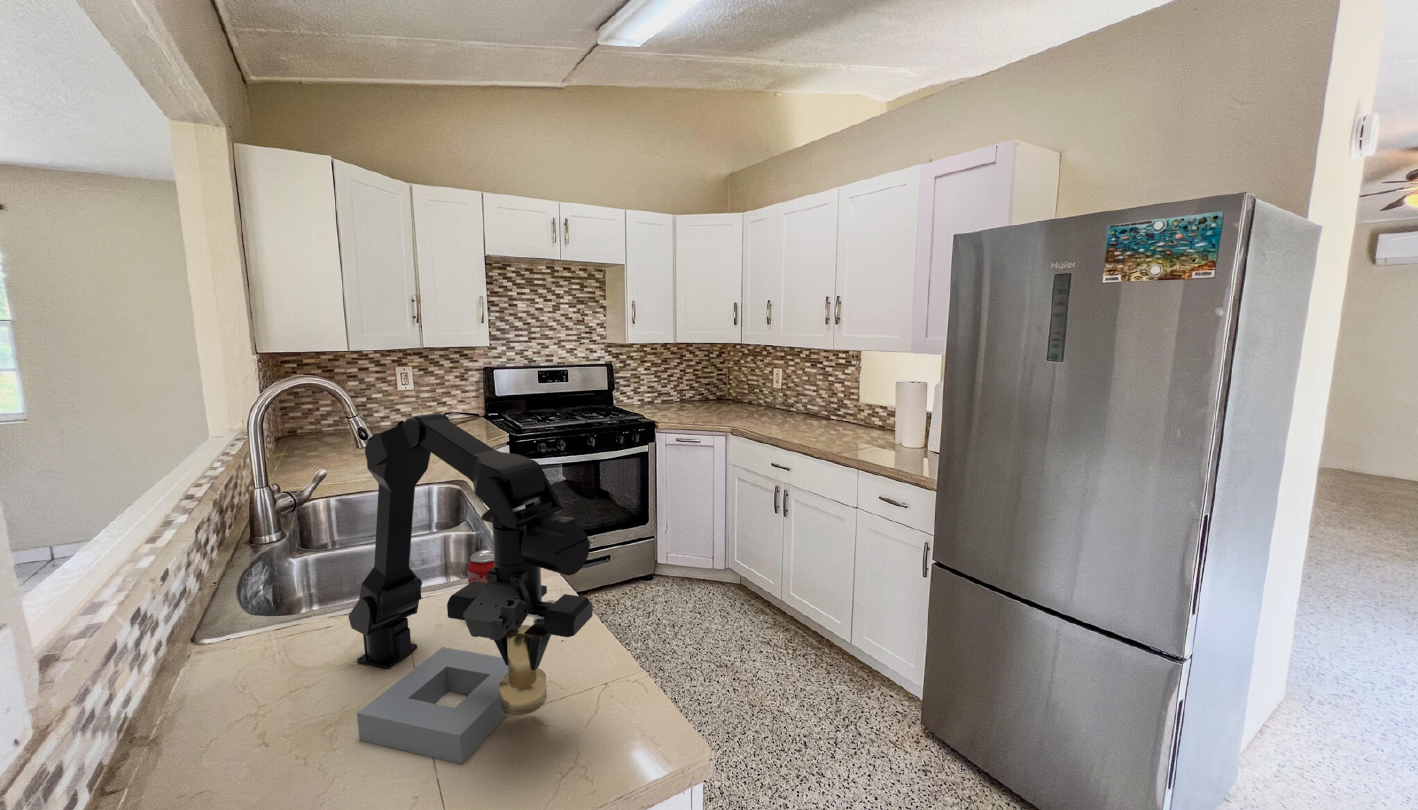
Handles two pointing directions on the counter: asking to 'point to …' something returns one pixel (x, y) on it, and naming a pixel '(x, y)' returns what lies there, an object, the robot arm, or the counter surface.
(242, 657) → the counter surface
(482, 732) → the housing
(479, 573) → the soda can
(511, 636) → the stepped shaft
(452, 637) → the counter surface
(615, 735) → the counter surface
